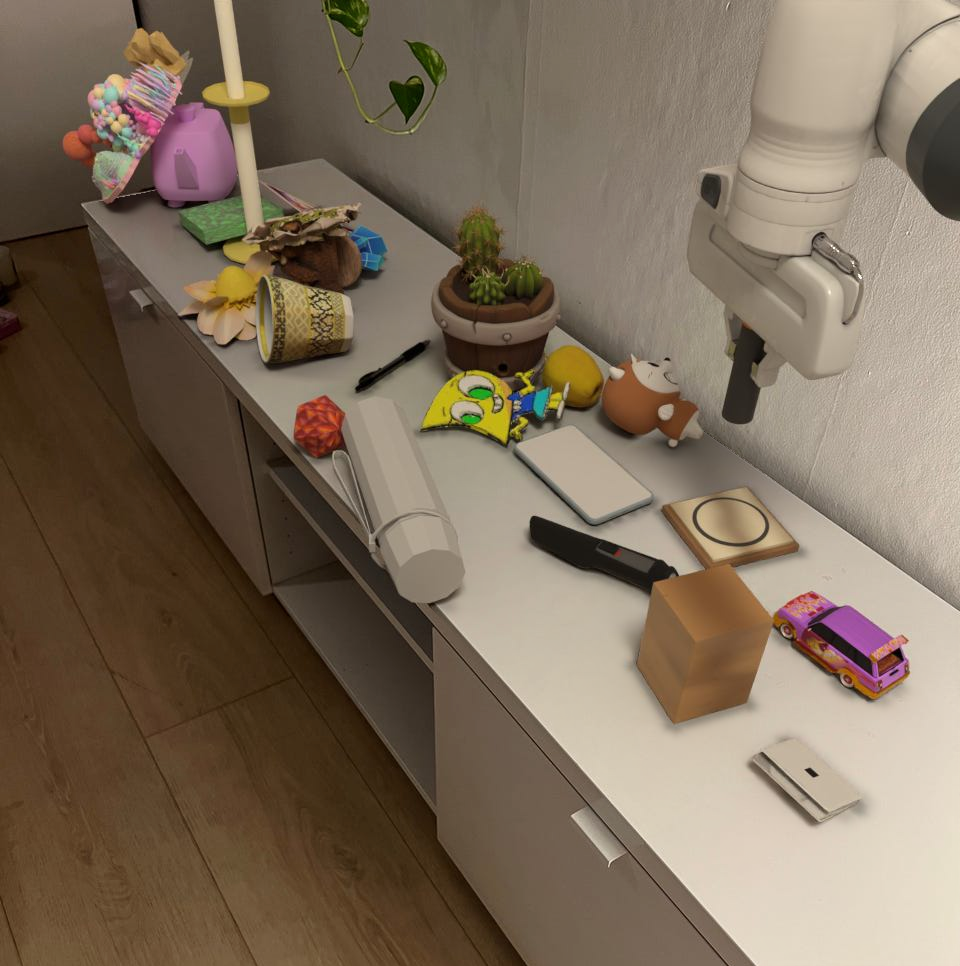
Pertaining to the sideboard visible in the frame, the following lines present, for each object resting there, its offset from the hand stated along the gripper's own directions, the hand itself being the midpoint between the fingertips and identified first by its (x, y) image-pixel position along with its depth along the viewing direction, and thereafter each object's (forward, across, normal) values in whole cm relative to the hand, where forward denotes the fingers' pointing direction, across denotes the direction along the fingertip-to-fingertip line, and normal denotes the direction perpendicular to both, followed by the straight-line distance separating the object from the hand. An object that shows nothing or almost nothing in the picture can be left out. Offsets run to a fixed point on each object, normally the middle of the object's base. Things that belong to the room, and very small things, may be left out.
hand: (748, 369), depth 85 cm
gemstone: (+15, +62, +22) cm, 67 cm away
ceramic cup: (+16, +48, +24) cm, 56 cm away
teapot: (+19, +97, +34) cm, 105 cm away
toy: (+16, +21, +7) cm, 27 cm away
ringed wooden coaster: (+19, 0, -2) cm, 19 cm away
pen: (+18, +40, +21) cm, 49 cm away
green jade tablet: (+16, +84, +32) cm, 91 cm away
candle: (+19, +77, +30) cm, 84 cm away
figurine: (+16, +13, -7) cm, 22 cm away
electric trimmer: (+19, -1, +12) cm, 23 cm away
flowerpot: (+19, +34, +10) cm, 41 cm away
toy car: (+19, -18, -3) cm, 26 cm away
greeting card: (+18, +86, +24) cm, 92 cm away
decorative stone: (+14, +24, +31) cm, 42 cm away
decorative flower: (+14, +56, +33) cm, 66 cm away
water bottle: (+15, +25, +28) cm, 40 cm away
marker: (+5, 0, 0) cm, 5 cm away
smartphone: (+19, +13, +8) cm, 24 cm away
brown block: (+19, -17, +11) cm, 28 cm away
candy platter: (+10, +99, +39) cm, 107 cm away
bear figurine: (+8, +62, +26) cm, 68 cm away
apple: (+17, +24, +1) cm, 29 cm away
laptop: (+19, -29, +8) cm, 36 cm away
